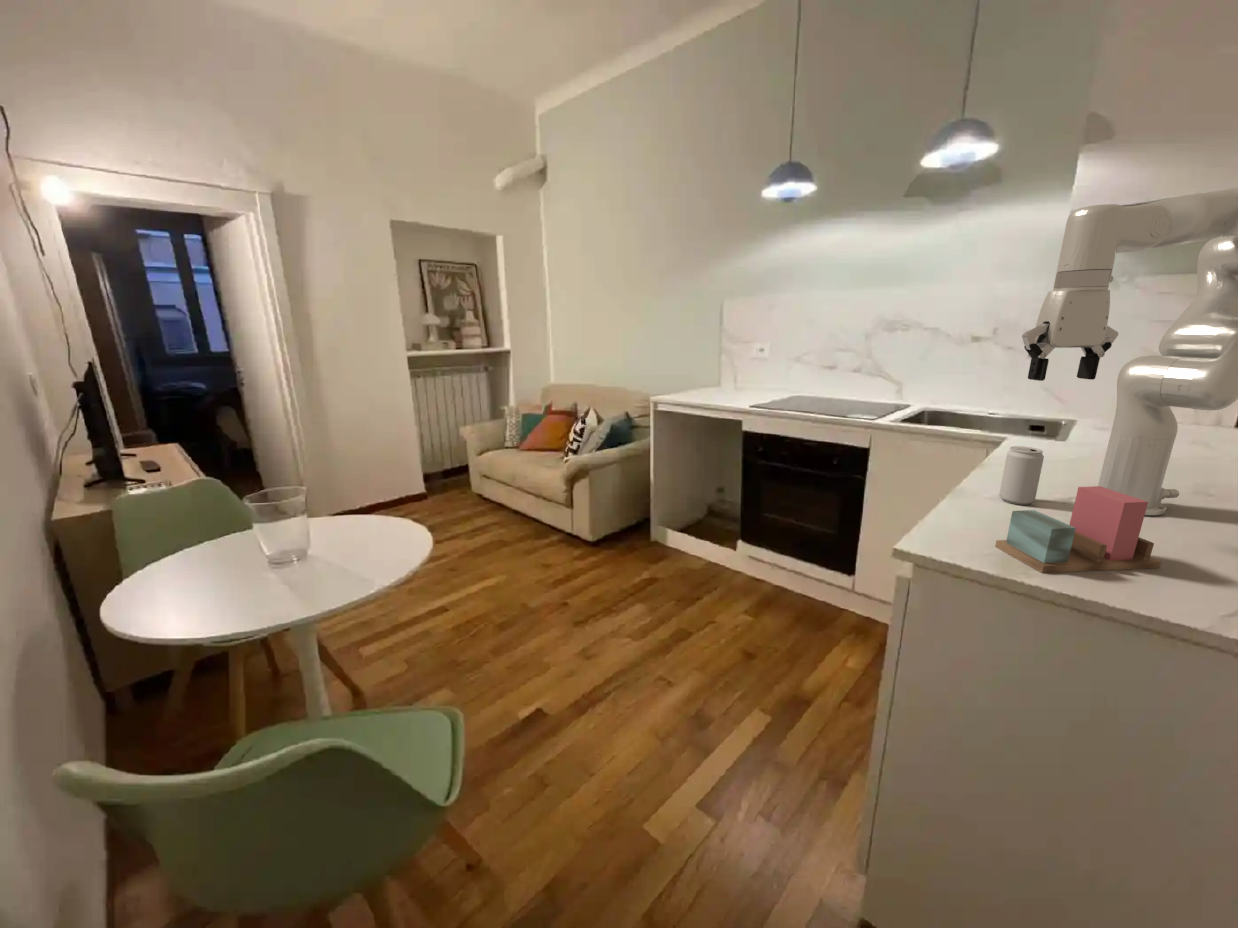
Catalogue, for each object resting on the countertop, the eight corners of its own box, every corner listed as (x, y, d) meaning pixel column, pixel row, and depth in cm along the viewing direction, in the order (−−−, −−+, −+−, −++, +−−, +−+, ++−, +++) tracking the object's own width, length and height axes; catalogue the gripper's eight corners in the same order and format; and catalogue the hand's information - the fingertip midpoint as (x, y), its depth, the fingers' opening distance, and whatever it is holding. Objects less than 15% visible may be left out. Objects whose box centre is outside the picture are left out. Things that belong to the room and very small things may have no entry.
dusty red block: (1086, 539, 93) (1100, 486, 90) (1132, 559, 85) (1148, 501, 82) (1065, 540, 93) (1078, 487, 90) (1109, 560, 85) (1124, 502, 82)
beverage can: (1035, 507, 111) (1047, 453, 108) (999, 502, 115) (1009, 450, 111) (1032, 499, 117) (1043, 447, 113) (997, 494, 120) (1007, 444, 117)
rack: (1101, 542, 94) (1110, 505, 92) (1159, 567, 85) (1171, 526, 83) (995, 546, 93) (1002, 509, 91) (1041, 572, 84) (1051, 531, 82)
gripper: (1107, 283, 96) (1086, 376, 101) (1017, 284, 96) (1000, 378, 100) (1149, 280, 89) (1124, 380, 94) (1052, 281, 88) (1032, 382, 93)
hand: (1060, 379), depth 97 cm, fingers open, 9 cm apart
